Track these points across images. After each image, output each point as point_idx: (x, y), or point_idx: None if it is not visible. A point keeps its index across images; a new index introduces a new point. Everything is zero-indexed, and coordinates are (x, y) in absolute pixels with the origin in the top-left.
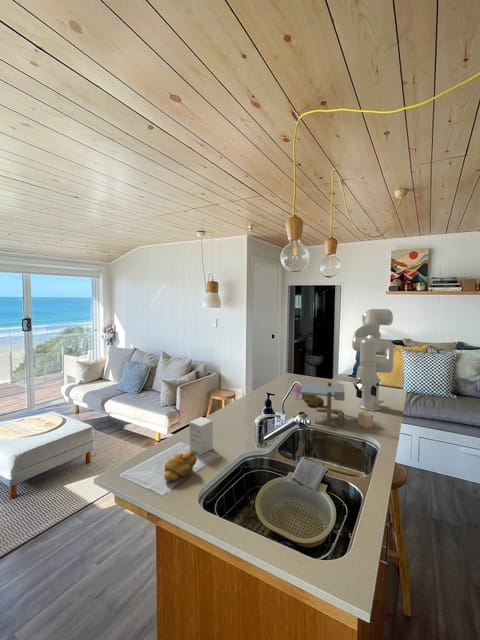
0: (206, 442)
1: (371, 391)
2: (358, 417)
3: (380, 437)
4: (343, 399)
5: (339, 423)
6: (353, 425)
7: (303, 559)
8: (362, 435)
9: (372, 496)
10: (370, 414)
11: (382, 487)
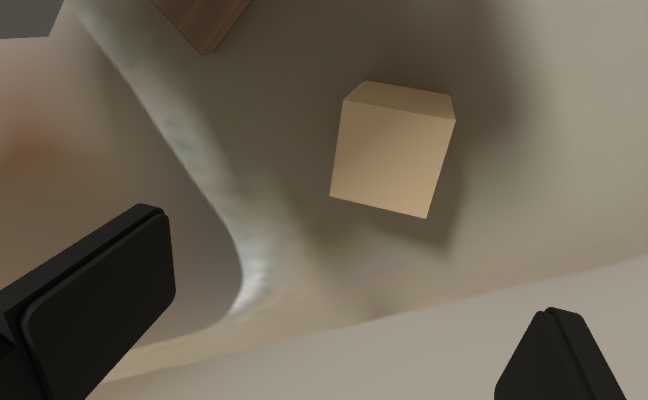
0: None
1: (558, 397)
2: (353, 92)
3: (311, 279)
4: (13, 24)
5: (189, 21)
6: (306, 79)
7: None
8: (240, 210)
9: None
10: (416, 196)
11: None
